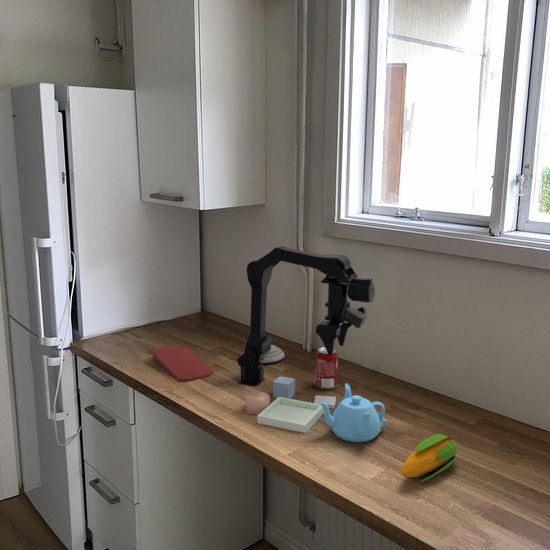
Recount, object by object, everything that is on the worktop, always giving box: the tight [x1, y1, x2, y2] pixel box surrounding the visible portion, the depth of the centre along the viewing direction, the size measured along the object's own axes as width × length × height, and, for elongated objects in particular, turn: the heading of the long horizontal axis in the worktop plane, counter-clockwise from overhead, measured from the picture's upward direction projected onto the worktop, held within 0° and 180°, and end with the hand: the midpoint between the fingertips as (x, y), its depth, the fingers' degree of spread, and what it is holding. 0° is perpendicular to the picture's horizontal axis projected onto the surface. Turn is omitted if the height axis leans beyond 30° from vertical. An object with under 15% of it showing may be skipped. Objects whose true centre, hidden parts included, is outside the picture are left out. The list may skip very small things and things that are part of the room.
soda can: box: [314, 346, 339, 391], centre depth 193 cm, size 7×7×12 cm
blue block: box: [272, 376, 296, 399], centre depth 187 cm, size 5×5×5 cm
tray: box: [257, 397, 324, 434], centre depth 172 cm, size 14×14×2 cm
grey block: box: [313, 395, 337, 409], centre depth 182 cm, size 6×6×2 cm
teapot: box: [317, 382, 387, 443], centre depth 162 cm, size 15×15×10 cm
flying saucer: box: [241, 344, 285, 364], centre depth 219 cm, size 15×15×6 cm
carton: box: [152, 345, 214, 383], centre depth 210 cm, size 12×5×25 cm
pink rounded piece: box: [244, 391, 271, 416], centre depth 177 cm, size 7×7×4 cm
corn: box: [400, 433, 458, 483], centre depth 144 cm, size 7×8×20 cm
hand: (336, 350), depth 184 cm, fingers open, 9 cm apart
